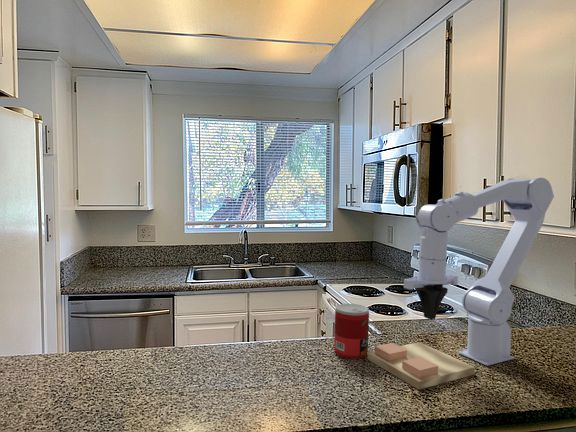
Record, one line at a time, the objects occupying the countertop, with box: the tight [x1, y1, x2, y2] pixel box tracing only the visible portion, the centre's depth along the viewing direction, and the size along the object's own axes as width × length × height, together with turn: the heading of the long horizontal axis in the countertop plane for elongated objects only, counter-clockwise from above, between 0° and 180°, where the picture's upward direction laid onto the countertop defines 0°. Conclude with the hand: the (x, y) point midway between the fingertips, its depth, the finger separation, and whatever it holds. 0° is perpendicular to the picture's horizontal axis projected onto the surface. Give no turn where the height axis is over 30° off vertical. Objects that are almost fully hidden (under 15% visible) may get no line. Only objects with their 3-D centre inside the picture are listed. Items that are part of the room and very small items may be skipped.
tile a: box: [374, 342, 407, 361], centre depth 93 cm, size 2×5×5 cm
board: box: [367, 341, 476, 391], centre depth 91 cm, size 16×16×2 cm
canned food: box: [333, 303, 370, 360], centre depth 98 cm, size 8×8×11 cm
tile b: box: [402, 357, 438, 378], centre depth 85 cm, size 2×5×5 cm
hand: (429, 318), depth 92 cm, fingers closed
